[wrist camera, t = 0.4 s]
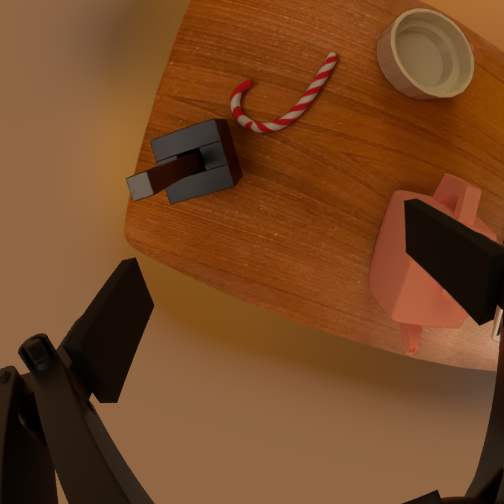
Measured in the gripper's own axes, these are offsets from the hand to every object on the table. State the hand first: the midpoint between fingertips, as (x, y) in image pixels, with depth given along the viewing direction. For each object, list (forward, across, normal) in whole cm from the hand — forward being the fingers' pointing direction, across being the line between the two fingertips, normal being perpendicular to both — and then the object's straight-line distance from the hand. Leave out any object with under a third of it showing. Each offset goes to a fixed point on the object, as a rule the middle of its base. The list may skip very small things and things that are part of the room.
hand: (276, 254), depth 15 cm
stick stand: (+28, -6, +3) cm, 28 cm away
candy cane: (+27, +6, +10) cm, 29 cm away
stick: (+28, -6, +3) cm, 28 cm away
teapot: (+24, +19, -13) cm, 34 cm away
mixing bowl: (+24, +23, +12) cm, 36 cm away
